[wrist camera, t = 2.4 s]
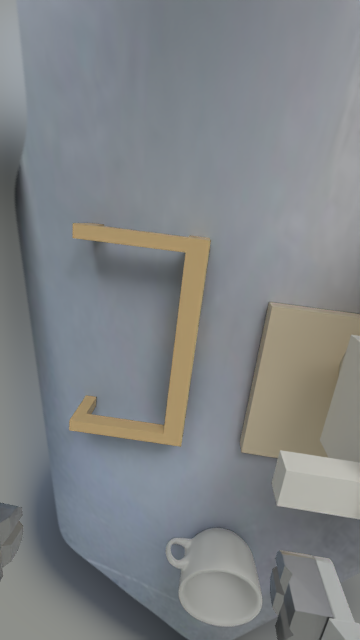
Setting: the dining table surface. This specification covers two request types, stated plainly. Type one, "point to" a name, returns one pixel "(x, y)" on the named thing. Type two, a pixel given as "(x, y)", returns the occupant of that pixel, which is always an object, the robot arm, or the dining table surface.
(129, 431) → the tan open angular frame
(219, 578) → the teacup
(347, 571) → the dining table surface
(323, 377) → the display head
